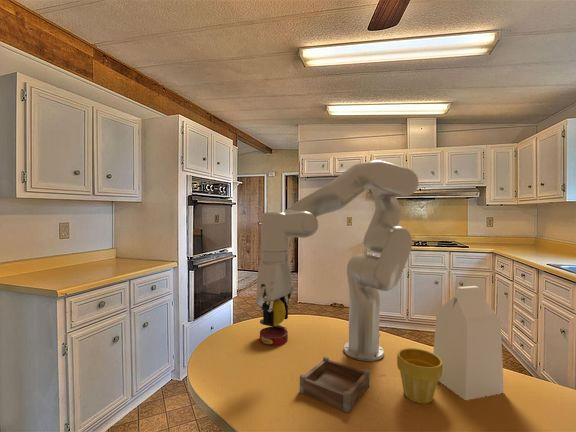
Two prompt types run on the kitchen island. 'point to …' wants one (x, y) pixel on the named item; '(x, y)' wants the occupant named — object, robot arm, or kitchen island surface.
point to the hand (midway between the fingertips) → (275, 320)
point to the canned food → (273, 335)
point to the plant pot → (419, 373)
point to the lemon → (278, 311)
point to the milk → (469, 345)
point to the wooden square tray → (335, 384)
